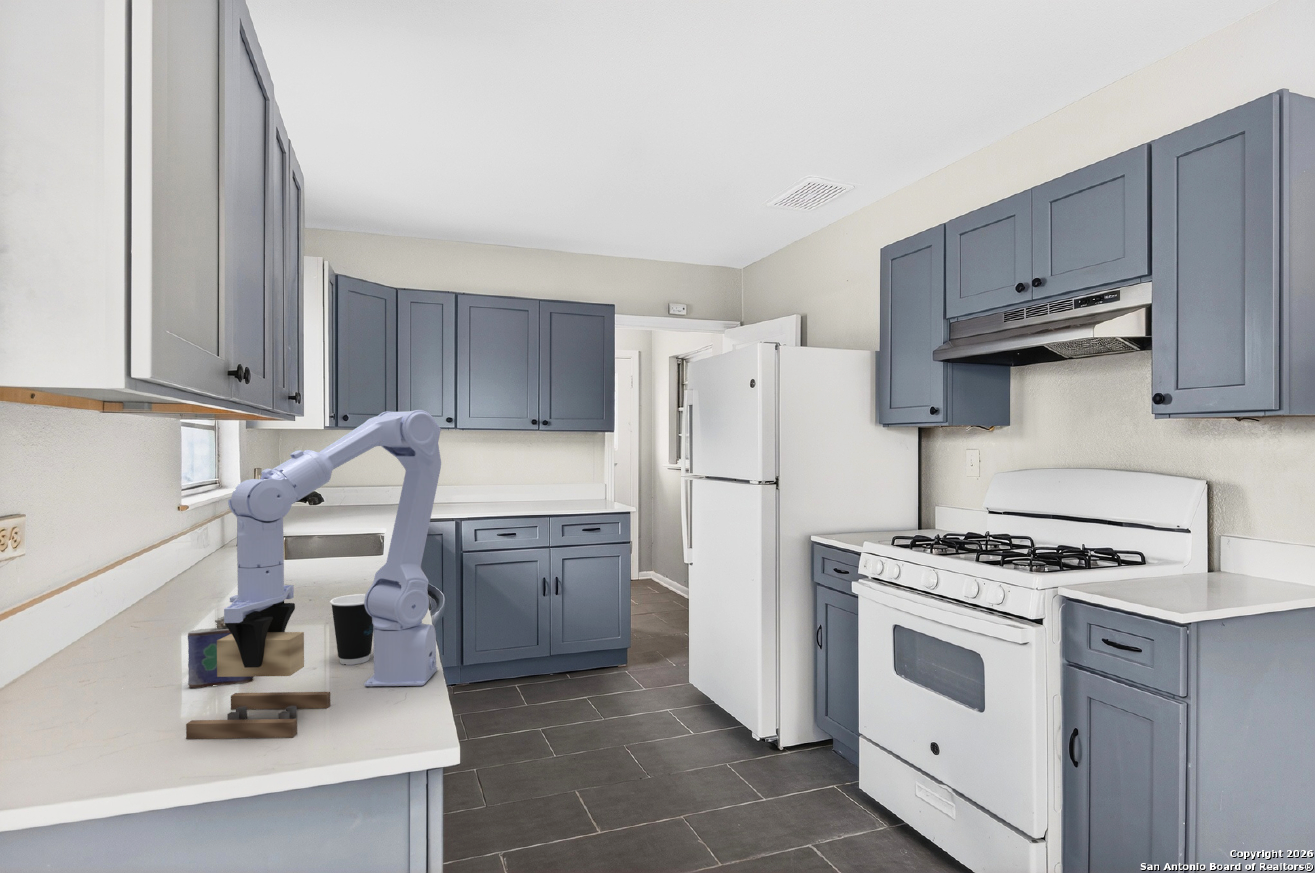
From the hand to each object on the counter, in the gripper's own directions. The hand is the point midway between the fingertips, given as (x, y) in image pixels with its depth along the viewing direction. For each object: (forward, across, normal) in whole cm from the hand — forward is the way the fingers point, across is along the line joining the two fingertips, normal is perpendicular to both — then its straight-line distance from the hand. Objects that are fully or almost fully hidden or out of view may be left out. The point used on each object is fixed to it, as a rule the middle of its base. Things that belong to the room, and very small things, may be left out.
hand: (261, 661), depth 101 cm
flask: (+9, -16, -15) cm, 24 cm away
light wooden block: (+1, 0, 0) cm, 1 cm away
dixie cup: (+9, -27, +2) cm, 28 cm away
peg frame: (+8, 0, 0) cm, 8 cm away
